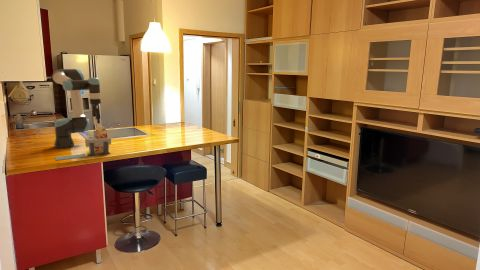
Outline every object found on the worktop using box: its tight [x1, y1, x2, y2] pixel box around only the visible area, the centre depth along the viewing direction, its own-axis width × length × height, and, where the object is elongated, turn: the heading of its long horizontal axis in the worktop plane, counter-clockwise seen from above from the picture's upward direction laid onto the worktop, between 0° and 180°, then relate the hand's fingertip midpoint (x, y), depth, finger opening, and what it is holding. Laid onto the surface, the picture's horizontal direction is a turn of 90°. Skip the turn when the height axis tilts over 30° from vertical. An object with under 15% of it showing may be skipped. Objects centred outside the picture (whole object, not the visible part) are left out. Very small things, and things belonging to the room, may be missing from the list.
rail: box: [84, 137, 112, 148], centre depth 259 cm, size 4×18×5 cm, turn 122°
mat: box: [55, 153, 87, 161], centre depth 251 cm, size 9×20×1 cm, turn 122°
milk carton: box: [94, 125, 110, 151], centre depth 275 cm, size 9×9×20 cm
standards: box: [87, 142, 111, 157], centre depth 260 cm, size 7×15×10 cm, turn 122°
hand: (97, 126), depth 257 cm, fingers open, 13 cm apart
